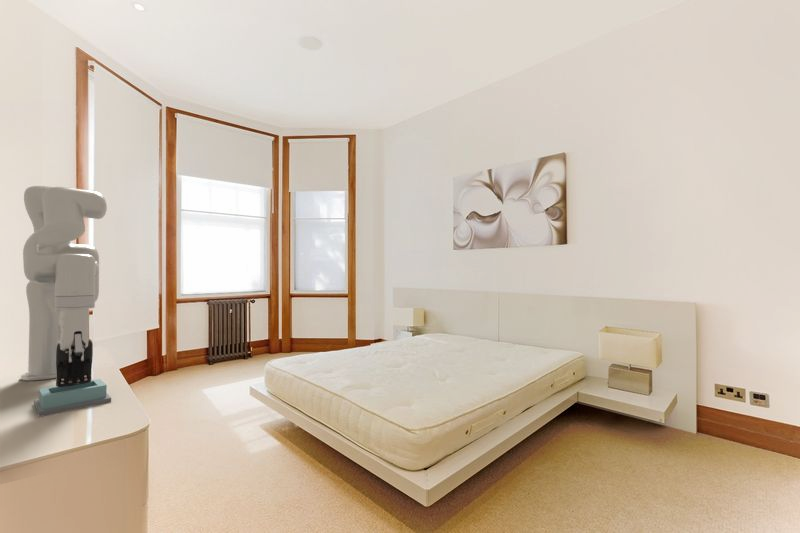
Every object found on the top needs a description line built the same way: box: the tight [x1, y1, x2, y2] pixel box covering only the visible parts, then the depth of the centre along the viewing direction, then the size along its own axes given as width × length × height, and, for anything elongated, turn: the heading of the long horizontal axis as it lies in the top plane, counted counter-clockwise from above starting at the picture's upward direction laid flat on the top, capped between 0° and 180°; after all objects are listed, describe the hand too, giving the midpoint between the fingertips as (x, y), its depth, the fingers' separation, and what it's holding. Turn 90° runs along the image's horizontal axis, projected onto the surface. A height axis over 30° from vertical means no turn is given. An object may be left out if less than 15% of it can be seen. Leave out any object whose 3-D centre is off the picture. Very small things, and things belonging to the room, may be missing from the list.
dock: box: [33, 378, 112, 418], centre depth 91 cm, size 12×13×4 cm
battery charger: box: [55, 338, 94, 387], centre depth 91 cm, size 7×4×11 cm, turn 132°
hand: (73, 375), depth 91 cm, fingers closed on battery charger, 4 cm apart
